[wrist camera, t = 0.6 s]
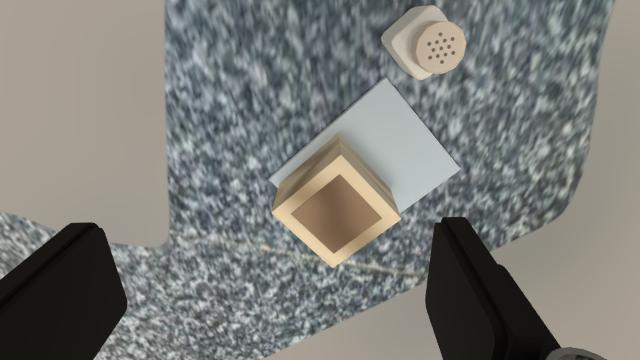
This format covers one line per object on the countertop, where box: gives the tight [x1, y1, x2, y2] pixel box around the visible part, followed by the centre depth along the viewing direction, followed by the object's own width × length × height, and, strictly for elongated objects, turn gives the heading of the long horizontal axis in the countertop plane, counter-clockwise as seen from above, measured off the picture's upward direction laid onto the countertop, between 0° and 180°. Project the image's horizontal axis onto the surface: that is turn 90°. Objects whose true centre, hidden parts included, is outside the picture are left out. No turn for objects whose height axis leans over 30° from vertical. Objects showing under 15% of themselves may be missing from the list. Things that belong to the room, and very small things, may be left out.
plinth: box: [271, 133, 401, 268], centre depth 34 cm, size 8×8×6 cm
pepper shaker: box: [381, 5, 467, 80], centre depth 27 cm, size 4×4×10 cm
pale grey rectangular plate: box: [269, 76, 460, 213], centre depth 36 cm, size 15×12×1 cm
